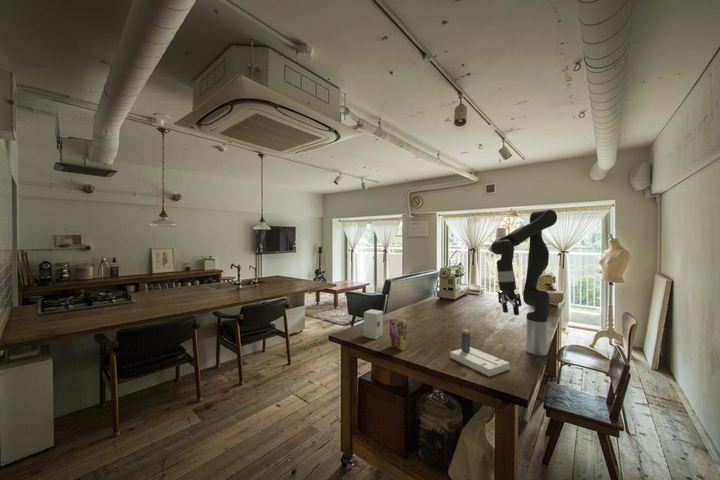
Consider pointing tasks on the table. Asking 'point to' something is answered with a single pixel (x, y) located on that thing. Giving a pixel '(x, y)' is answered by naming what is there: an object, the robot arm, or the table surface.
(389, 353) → the table surface
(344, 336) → the table surface
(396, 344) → the candy box
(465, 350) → the fader tab
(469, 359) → the console panel
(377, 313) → the supplement box
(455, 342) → the table surface
